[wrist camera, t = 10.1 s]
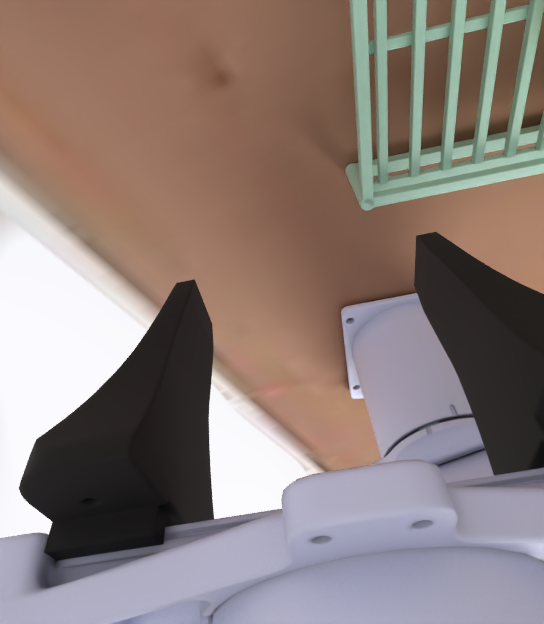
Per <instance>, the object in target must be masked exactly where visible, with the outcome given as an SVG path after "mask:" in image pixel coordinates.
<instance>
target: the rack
mask: <svg viewBox="0 0 544 624" xmlns="http://www.w3.org/2000/svg"><path fill="white" fill-rule="evenodd" d="M349 4H350V22H351V40H352V57H353V75H354V93H355V111H356V128H357V146H358V163H351V164H349V165H348V166H347V167H346V169H345V173H346V175H347V178H348V180H349V182H350V184H351V187H352V189H353V191H354V193H355V195H356V198H357V200H358V202H359V204H360V207H361V208H362V209H363V210H366V211H368V210H371V209H373V208H374V207H378V206H383V205H388V204H393V203H398V202H403V201H408V200H413V199H418V198H423V197H428V196H433V195H438V194H443V193H447V192H452V191H457V190H462V189H467V188H472V187H477V186H482V185H487V184H492V183H497V182H502V181H507V180H512V179H516V178H521V177H526V176H531V175H536V174H541V173H544V110H543V114H542V119H541V123H540V125H535V126H531V127H526V128H521V125H522V120H523V115H524V109H525V104H526V99H527V94H528V89H529V84H530V78H531V73H532V68H533V63H534V58H535V53H536V47H537V42H538V37H539V32H540V27H541V22H542V16H543V15H544V0H530V2H529V4H527V5H523V6H518V7H514V8H510V9H505V7H506V0H491V6H490V13H488V14H483V15H479V16H475V17H470V18H466V19H465V16H466V5H467V0H452V11H451V22H449V23H444V24H440V25H436V26H431V27H427V28H426V13H427V0H413V14H412V31H409V32H405V33H401V34H396V35H392V36H388V37H387V0H373V21H374V40H370V41H368V15H367V0H349ZM525 19H526V25H525V30H524V36H523V42H522V48H521V54H520V59H519V65H518V71H517V77H516V82H515V88H514V94H513V100H512V105H511V111H510V117H509V123H508V128H507V132H502V133H497V134H493V135H488V136H487V132H488V126H489V119H490V112H491V105H492V98H493V91H494V84H495V77H496V70H497V63H498V56H499V49H500V42H501V35H502V28H503V24H507V23H512V22H516V21H521V20H525ZM485 28H488V30H487V38H486V46H485V54H484V62H483V70H482V78H481V87H480V95H479V103H478V111H477V119H476V127H475V135H474V139H469V140H464V141H459V142H455V143H454V134H455V123H456V112H457V102H458V91H459V80H460V69H461V59H462V48H463V37H464V33H468V32H472V31H477V30H481V29H485ZM446 37H449V51H448V64H447V78H446V91H445V104H444V118H443V131H442V144H441V145H440V146H436V147H431V148H426V149H421V130H422V107H423V83H424V60H425V42H428V41H433V40H437V39H442V38H446ZM411 45H412V55H411V96H410V136H409V152H407V153H402V154H398V155H393V156H388V96H387V51H389V50H393V49H398V48H402V47H406V46H411ZM371 54H374V59H375V97H376V135H377V159H374V160H372V133H371V103H370V74H369V55H371ZM535 142H536V146H535V147H530V148H525V149H520V150H517V146H521V145H526V144H531V143H535ZM502 149H504V152H503V153H501V154H496V155H491V156H486V157H484V153H487V152H492V151H497V150H502ZM468 156H472V159H471V160H467V161H462V162H458V163H453V164H452V160H454V159H458V158H463V157H468ZM439 162H440V166H438V167H433V168H429V169H424V170H420V166H425V165H430V164H434V163H439ZM406 169H409V173H404V174H400V175H395V176H390V177H388V173H391V172H396V171H401V170H406ZM377 175H378V179H376V180H373V176H377Z"/></svg>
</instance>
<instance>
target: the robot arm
mask: <svg viewBox="0 0 544 624" xmlns="http://www.w3.org/2000/svg"><path fill="white" fill-rule="evenodd" d="M414 286H415V289H416V292H417V293H414V294H409V295H404V296H398V297H393V298H388V299H382V300H377V301H372V302H366V303H361V304H356V305H350V306H346V307H344V308H343V309H342V310H341V318H342V327H343V336H344V345H345V354H346V363H347V372H348V381H349V390H350V396H351V398H353V399H360V398H364V399H365V402H366V406H367V409H368V413H369V417H370V420H371V424H372V427H373V431H374V434H375V438H376V442H377V445H378V449H379V452H380V456H381V460H379V461H377V462H374V463H373V465H367V466H361V467H355V468H348V469H342V470H336V471H330V472H324V473H317V474H313V475H309V476H306V477H303V478H299V479H297V480H296V481H294V482H293V483H291V484H290V485H289V486H287V487H286V488H285V489H284V490H283V495H282V509H277V510H271V511H265V512H258V513H252V514H246V515H239V516H234V517H226V518H221V519H214V514H213V503H212V489H211V474H210V454H209V453H210V451H209V421H208V420H209V419H208V417H209V400H210V388H211V376H212V364H213V331H212V322H211V320H210V317H209V315H208V312H207V310H206V307H205V305H204V302H203V299H202V297H201V294H200V292H199V289H198V287H197V284H196V282H195V280H190V281H185V282H180V283H176V285H175V286H174V288H173V290H172V291H171V293H170V295H169V297H168V298H167V300H166V302H165V304H164V305H163V307H162V309H161V310H160V312H159V314H158V315H157V317H156V318H155V320H154V322H153V323H152V325H151V326H150V328H149V330H148V331H147V333H146V334H145V336H144V337H143V338H142V340H141V341H140V343H139V344H138V345H137V347H136V348H135V350H134V351H133V352H132V353H131V355H130V356H129V357H128V358H127V360H126V361H125V362H124V363H123V364H122V366H121V367H120V368H119V369H118V370H117V371H116V372H115V373H114V374H113V375H112V376H111V378H109V379H108V380H107V382H105V383H104V384H103V385H102V386H101V388H99V390H98V391H97V392H96V393H94V394H93V395H92V396H91V397H90V398H89V399H88V400H87V401H86V402H84V403H83V404H82V405H81V406H80V407H79V408H77V409H76V410H75V411H74V412H73V413H71V414H70V415H69V416H68V417H66V418H65V419H64V420H62V421H61V422H60V423H58V424H57V425H56V426H54V427H53V428H52V429H50V430H49V431H48V432H46V433H45V434H44V435H42V436H41V437H39V438H38V439H37V440H36V442H35V444H34V447H33V449H32V452H31V454H30V457H29V460H28V463H27V466H26V468H25V471H24V474H23V477H22V480H21V483H20V486H19V490H20V492H21V495H22V496H23V498H24V499H26V501H27V502H28V503H29V504H30V505H32V506H33V507H35V508H36V509H37V510H38V511H39V512H41V513H42V514H43V515H45V516H46V517H47V518H49V519H50V520H51V521H52V522H53V523H52V526H51V530H50V533H49V535H48V534H44V533H31V534H24V535H17V536H12V537H5V538H0V624H544V294H542V293H540V292H537V291H535V290H533V289H531V288H529V287H526V286H524V285H522V284H520V283H518V282H516V281H514V280H512V279H510V278H508V277H506V276H505V275H503V274H501V273H499V272H497V271H496V270H494V269H492V268H490V267H489V266H487V265H485V264H484V263H482V262H481V261H479V260H477V259H476V258H474V257H473V256H471V255H470V254H468V253H467V252H465V251H464V250H462V249H461V248H459V247H458V246H456V245H455V244H453V243H452V242H450V241H449V240H447V239H446V238H444V237H443V236H441V235H440V234H438V233H437V232H433V233H428V234H423V235H418V236H416V257H415V281H414ZM349 318H352V319H350V320H347V319H349Z"/></svg>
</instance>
